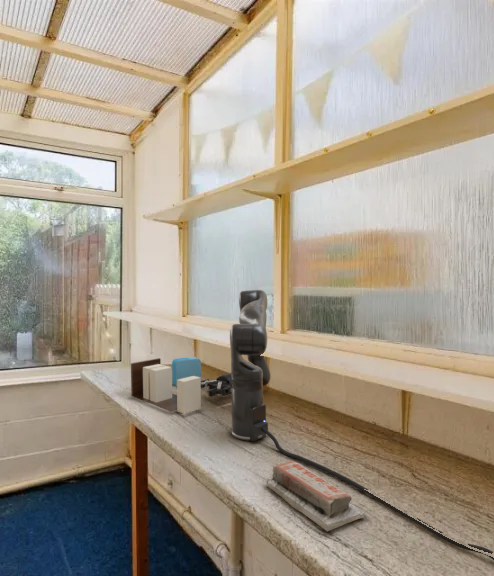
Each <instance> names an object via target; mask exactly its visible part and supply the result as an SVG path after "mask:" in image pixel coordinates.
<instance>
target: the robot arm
mask: <svg viewBox="0 0 494 576" xmlns="http://www.w3.org/2000/svg"><path fill="white" fill-rule="evenodd" d="M238 306H239V317H238V321H239V323H234V324H232V325H231V327H230V329H229V346H230V348H229V349H230V361H231V362H230V367H231V369H230V370H231V371H230V372H227V373H223V374H220V375H219V376H217V378H216V379H212V380H210V379H209V378H206V379H201V391H203V390H204V391H206V392H207V396H208V397H214V396H222V397H225V396H229V395H230V396H231V398H230V399H231V436H233V437H234V438H235V439H238V440H242V441H248V442H253V443H254V442H256V441H259V440H260V439H263V438H265V437H267V436H268V437H269V438H270V439H271V441H273V443H274V446H275V447H276V449H277V450H278V452H280V453H281V454H283V455H285V456H287V457H288V458H292V459H295V460H298V461H301V462H303V463H305V464H308V465H310V466H312V467H314V468H316V469H319V470H320V471H323V472H325V473H327V474H330V475H331V476H333V477H335V478H337V479H339V480H341V481H342V482H345V483H347V484H348V485H351V486H352V487H354V488H356V489H358V490H359V491H361V492H362V493H364V494H366V495H368V496H369V497H371V498H372V499H374V500H376V501H378V502H379V503H381V504H382V505H384V506H386V507H387V508H390V509H391V510H393V511H394V512H396V513H398V514H399V515H401V516H403V517H404V518H406V519H408V520H410V522H411V521H412V522H413V523H415V524H417V525H418V526H420V527H422V528H423V529H425V530H427V531H428V532H430V533H432V534H434V535H435V536H437V537H439V538H441V539H442V540H444V541H445V542H448V543H450V544H452V545H453V546H456V547H458V548H460V549H463V550H466V551H468V552H469V551H470V552H473V553H477V554H482V555H485V556H487V557H489V558H490V559H491V560H493V561H494V558H493V557H491V556H488V555H486V554H483V553H481V552H478V551H475V550H473V549H470V548H468V547H466V546H464V545H462V544H459V543H457V542H455V541H453V540H451V539H449V538H447V537H445V536H443V535H442V534H440V533H444V532H443V531H441V530H440V529H438V528H436V527H434V526H433V525H431V526H430V524H429V523H428V522H425V521H424V522H423V520H422V519H420V518H419V517H417V519H418V520H419V521H421V520H422V522H423V523H425V524H427V525H428V524H429V527H432V528H433V527H434V528H433V529H435V528H436V530H437V529H438V531H439V532H440V533H438V532H436V531H434V530H433V529H431V528H429V527H427V526H426V525H424V524H422V523H421V522H419V521H417V520H415V519H414V518H412V517H410V516H408V515H407V514H405V513H403V512H402V511H400V510H398V509H396V508H395V507H393V506H391V505H390V504H388V503H386V502H385V501H383V500H381V499H380V498H378V497H376V496H374V495H373V494H371V493H369V492H368V491H366V490H369V488H367V487H365V486H363V485H361V484H360V483H358V482H356V481H354V480H353V479H350V478H348V477H347V476H344V475H343V474H341V473H339V472H337V471H335V470H333V469H330V468H329V467H327V466H324V465H322V464H320V463H318V462H315V461H313V460H310V459H308V458H305V457H304V456H301V455H300V454H299V455H298V454H296V453H291V452H289V451H287V450H285V449H283V447H281V445H280V443H279V441H278V440H277V438H276V437H275V436H274V435H273V433H271V432H270V431H269V423H268V422H267V408H266V407H267V404H266V403H264V389H263V387H265V386H268V384H269V383H270V381H271V378H272V377H271V374H272V373H271V371H270V367H269V365H268V362H267V359H266V356H265V357H264V356H260V355H261V354H263V353H264V352H266V351H267V348H268V333H267V309H268V297H267V294H266V292H265V291H264V290H262V289H252V290H241V291H240V292H239V295H238ZM243 356H246V357H247V360H248V361H247V360H246V359H245V358H244V357H243ZM364 489H366V490H364ZM468 545H469V546H471V547H474V548H477V549H479V550H483V551H484V552H488V553H491V554H492V553H493V552H494V551H492V550H491V549H489V548H486V547H484V546H481V545H476V544H473V543H468Z"/></svg>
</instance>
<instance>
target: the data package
mask: <svg viewBox="0 0 494 576" xmlns="http://www.w3.org/2000/svg"><path fill="white" fill-rule="evenodd" d="M171 367H172V386H175V387H177V380H178V379H182V378H187V377H191V376H196V377H200V378H201V379H202V363H201V359H200V358H198V357H195V356H189V357H179V358H174V359H172V361H171Z"/></svg>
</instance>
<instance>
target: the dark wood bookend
mask: <svg viewBox="0 0 494 576" xmlns="http://www.w3.org/2000/svg"><path fill="white" fill-rule="evenodd" d="M161 360H162V359H161V358H160V357H159V358H151V359H146V360H141V361H136V362H131V363H130V390H131V391H130V392H131V395H130V396H131V397H133V398H135V399H138V400H140V401H143V402H145V403H148V404H151V405H153V406H155V407H158V408H160V409H163V410H165V411H168V412H174V411H177V394H175V393H172V398H171V399H167V400H164V401H160V402H156V403H155V402H153V401H150V400H148V399H145V398H143V367H146V366H151V365H157V364H161V365H162V363H161Z"/></svg>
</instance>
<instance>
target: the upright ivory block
mask: <svg viewBox="0 0 494 576" xmlns="http://www.w3.org/2000/svg"><path fill="white" fill-rule="evenodd" d="M201 380H202V377H201V378H200V377H196V376H191V377H187V378H182V379H178V380H177V386H176V395H177V410H176V411H177V412H178V413H180V414H183V415H186V414H189V413H192V412H194V411H198V410H201V409H202V398H201V397H202V390H201Z"/></svg>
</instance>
